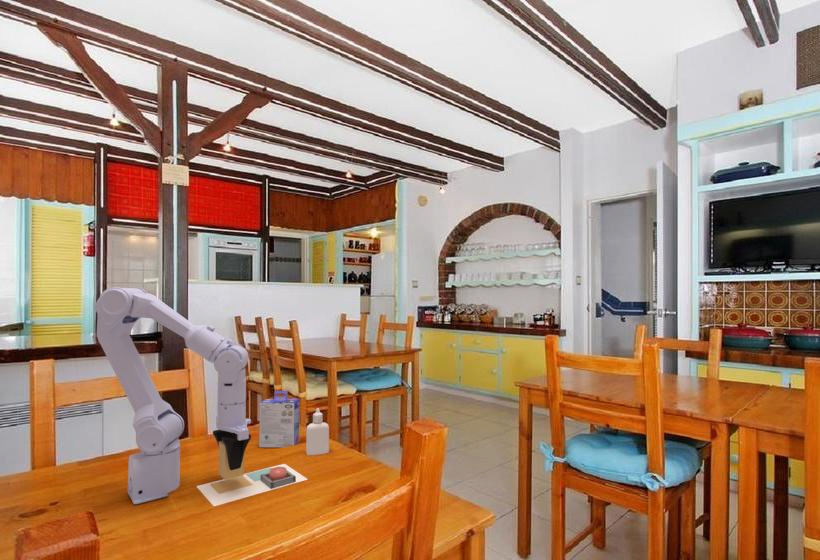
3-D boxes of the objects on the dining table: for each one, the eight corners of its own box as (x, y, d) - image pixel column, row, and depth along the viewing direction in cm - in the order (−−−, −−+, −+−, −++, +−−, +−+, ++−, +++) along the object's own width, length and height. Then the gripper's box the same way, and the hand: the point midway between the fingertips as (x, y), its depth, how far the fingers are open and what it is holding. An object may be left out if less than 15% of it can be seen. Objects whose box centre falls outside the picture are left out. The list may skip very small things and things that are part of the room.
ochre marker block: (225, 480, 97) (225, 446, 97) (218, 474, 100) (219, 441, 100) (244, 475, 100) (244, 442, 100) (237, 469, 103) (237, 437, 103)
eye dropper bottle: (310, 452, 122) (310, 406, 123) (330, 453, 122) (330, 406, 122) (304, 457, 118) (304, 410, 118) (325, 459, 117) (325, 411, 118)
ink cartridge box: (300, 441, 131) (300, 389, 131) (295, 448, 125) (295, 394, 126) (265, 441, 131) (265, 389, 131) (258, 448, 125) (258, 394, 126)
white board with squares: (213, 510, 90) (213, 500, 90) (196, 489, 99) (196, 480, 99) (308, 482, 103) (308, 473, 103) (284, 467, 112) (284, 458, 112)
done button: (273, 483, 99) (273, 474, 99) (266, 478, 102) (266, 469, 102) (289, 479, 102) (289, 470, 102) (282, 474, 104) (282, 465, 104)
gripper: (263, 405, 97) (262, 470, 97) (238, 393, 108) (238, 452, 108) (228, 411, 93) (228, 479, 93) (206, 398, 104) (206, 459, 104)
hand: (231, 465), depth 100 cm, fingers closed on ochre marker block, 4 cm apart
